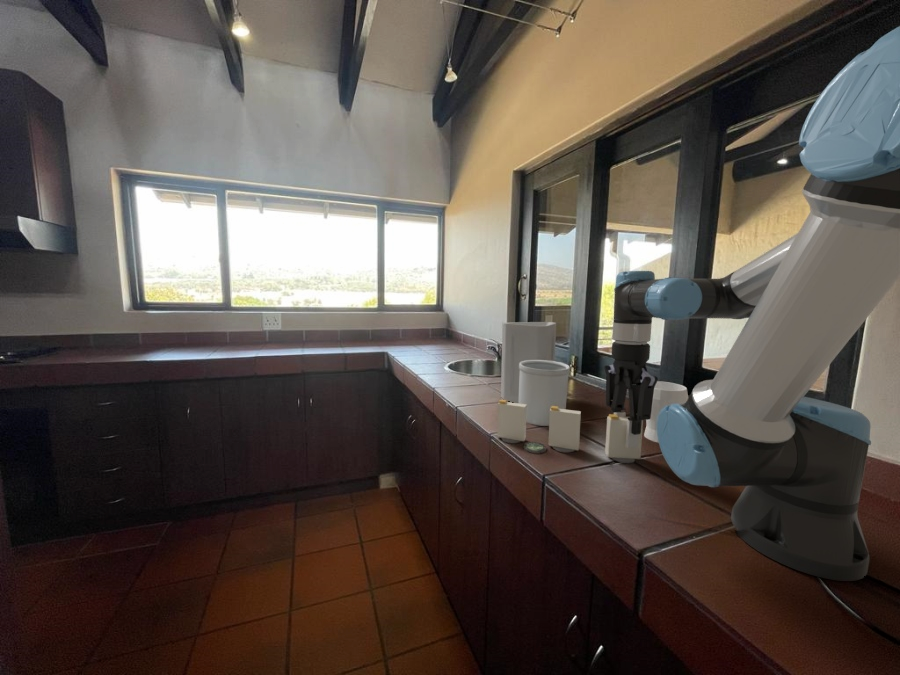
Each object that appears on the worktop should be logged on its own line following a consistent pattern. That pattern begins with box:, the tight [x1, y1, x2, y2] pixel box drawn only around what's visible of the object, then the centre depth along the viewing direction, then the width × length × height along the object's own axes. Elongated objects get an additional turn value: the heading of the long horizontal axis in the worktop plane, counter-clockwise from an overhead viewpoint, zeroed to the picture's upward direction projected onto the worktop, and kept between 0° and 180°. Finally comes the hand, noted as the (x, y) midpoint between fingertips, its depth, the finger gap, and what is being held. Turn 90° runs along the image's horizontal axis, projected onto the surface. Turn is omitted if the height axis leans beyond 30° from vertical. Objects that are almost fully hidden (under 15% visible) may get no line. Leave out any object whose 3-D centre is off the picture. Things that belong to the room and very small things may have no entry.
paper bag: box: [500, 321, 557, 403], centre depth 122 cm, size 19×15×28 cm
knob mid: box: [548, 406, 582, 454], centre depth 84 cm, size 5×7×10 cm
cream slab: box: [496, 398, 527, 444], centre depth 89 cm, size 5×7×10 cm
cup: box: [643, 380, 689, 444], centre depth 90 cm, size 11×11×15 cm
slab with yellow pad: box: [604, 413, 644, 464], centre depth 79 cm, size 5×7×10 cm
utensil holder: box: [519, 360, 571, 427], centre depth 105 cm, size 15×15×18 cm
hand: (624, 442), depth 79 cm, fingers closed on slab with yellow pad, 3 cm apart
